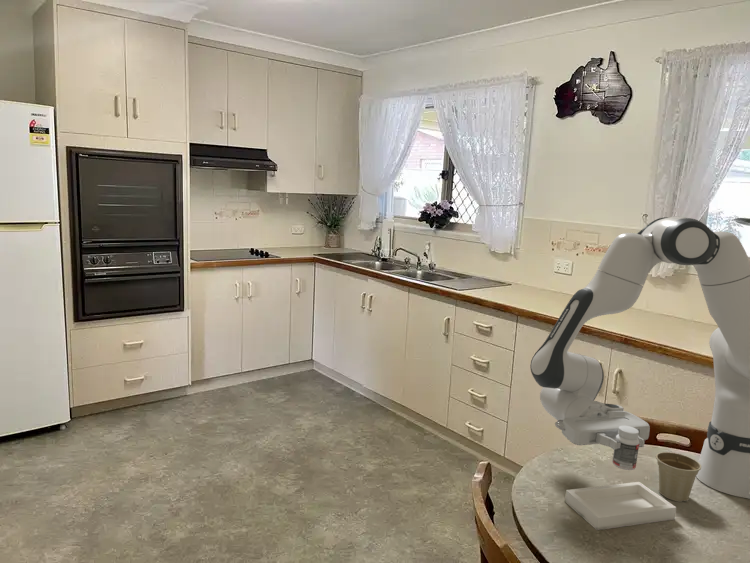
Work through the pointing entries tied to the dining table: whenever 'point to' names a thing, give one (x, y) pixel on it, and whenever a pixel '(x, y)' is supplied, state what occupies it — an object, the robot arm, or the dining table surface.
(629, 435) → the pill bottle
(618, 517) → the tray
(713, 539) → the dining table surface
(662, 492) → the flower pot
